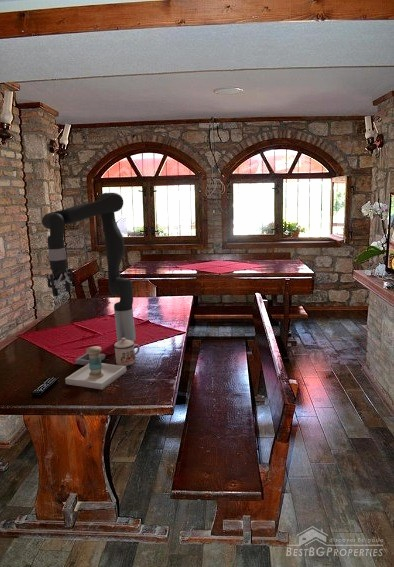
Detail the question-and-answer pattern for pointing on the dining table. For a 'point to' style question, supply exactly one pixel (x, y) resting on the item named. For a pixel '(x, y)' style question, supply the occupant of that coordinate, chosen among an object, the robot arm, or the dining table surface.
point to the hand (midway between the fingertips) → (62, 293)
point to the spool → (95, 362)
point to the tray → (84, 380)
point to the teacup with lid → (125, 352)
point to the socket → (82, 360)
